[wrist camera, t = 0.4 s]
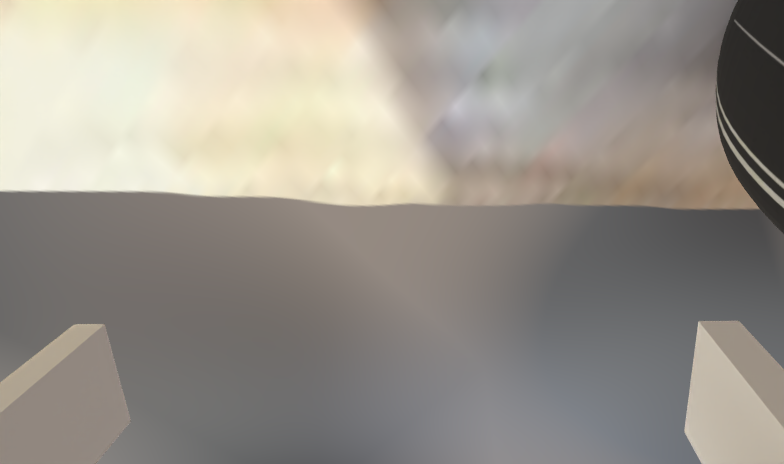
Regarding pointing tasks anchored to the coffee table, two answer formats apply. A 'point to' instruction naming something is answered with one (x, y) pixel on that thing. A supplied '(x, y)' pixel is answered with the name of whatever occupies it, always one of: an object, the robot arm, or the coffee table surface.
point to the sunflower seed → (754, 102)
